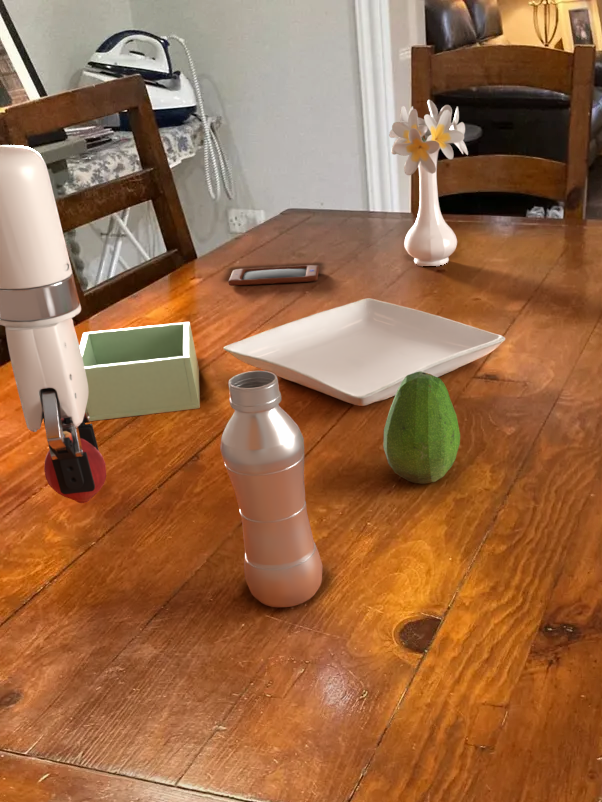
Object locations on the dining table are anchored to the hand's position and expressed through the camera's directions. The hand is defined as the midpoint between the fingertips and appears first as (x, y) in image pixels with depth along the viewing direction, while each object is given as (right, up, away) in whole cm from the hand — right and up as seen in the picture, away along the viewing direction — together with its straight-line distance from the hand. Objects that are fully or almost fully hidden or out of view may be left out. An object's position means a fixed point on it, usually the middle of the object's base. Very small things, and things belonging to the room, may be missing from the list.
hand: (81, 474), depth 95 cm
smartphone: (+7, +43, +66) cm, 79 cm away
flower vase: (+35, +47, +71) cm, 92 cm away
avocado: (+35, 0, +5) cm, 35 cm away
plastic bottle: (+23, -13, -12) cm, 29 cm away
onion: (0, -3, +2) cm, 3 cm away
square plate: (+26, +19, +32) cm, 45 cm away
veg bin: (-2, +14, +26) cm, 29 cm away
